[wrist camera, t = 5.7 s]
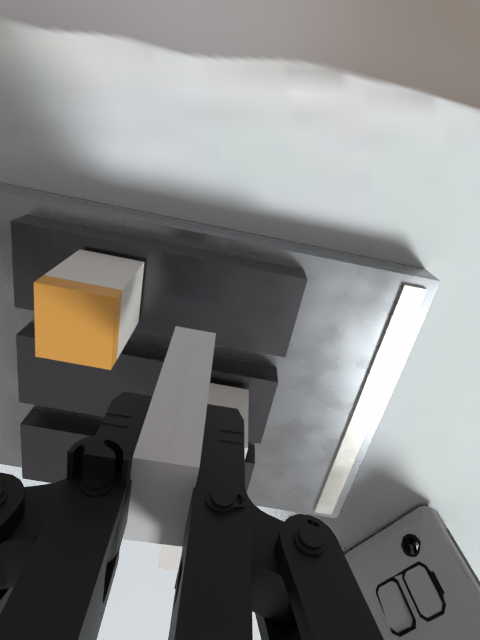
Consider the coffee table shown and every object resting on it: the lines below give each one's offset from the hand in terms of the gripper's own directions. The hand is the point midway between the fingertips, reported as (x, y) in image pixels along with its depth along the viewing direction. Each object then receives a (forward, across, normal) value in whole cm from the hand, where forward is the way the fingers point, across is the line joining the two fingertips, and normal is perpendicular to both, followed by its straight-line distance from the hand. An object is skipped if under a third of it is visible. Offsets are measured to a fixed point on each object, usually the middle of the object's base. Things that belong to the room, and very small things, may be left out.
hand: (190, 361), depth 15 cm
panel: (+9, -2, -6) cm, 11 cm away
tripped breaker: (+5, -4, 0) cm, 7 cm away
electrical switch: (+9, +19, -19) cm, 28 cm away
